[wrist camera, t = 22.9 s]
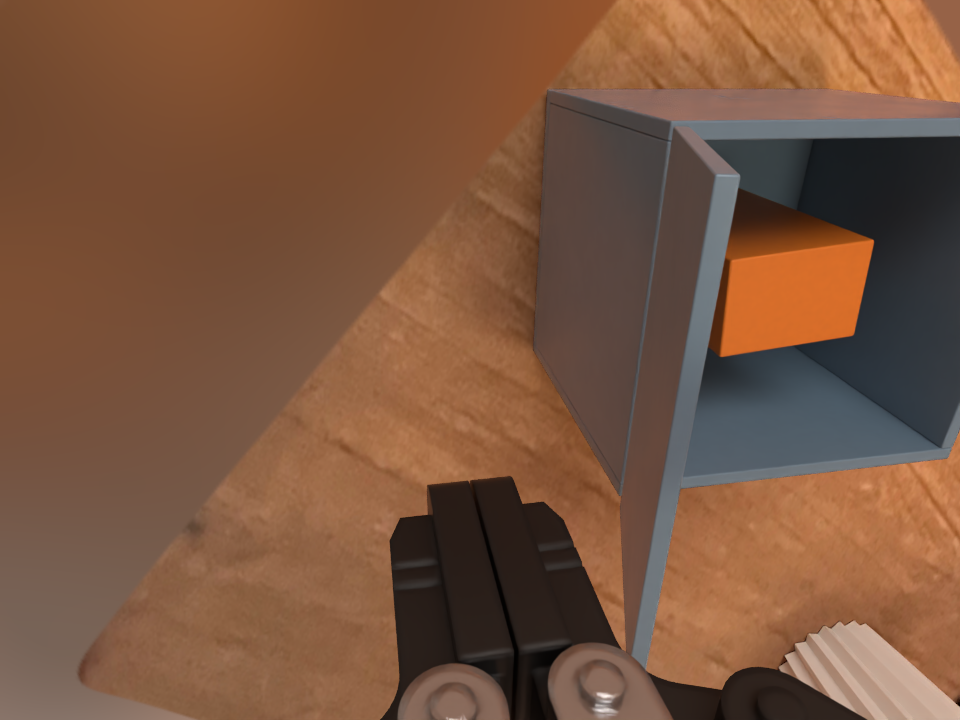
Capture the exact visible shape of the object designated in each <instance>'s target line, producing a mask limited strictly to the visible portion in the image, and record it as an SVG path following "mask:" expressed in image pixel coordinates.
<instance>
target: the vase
mask: <svg viewBox="0 0 960 720" xmlns="http://www.w3.org/2000/svg"><path fill="white" fill-rule="evenodd" d="M784 656H785V657H786V659H787V662H786V663H784V664H782V665H781V666H779V669H780V671H781V672H784V673H787V674H789V675H791V676H793V677H795V678H797V679H799V680H800V681H802V682H804V683H805V684H807V685H809V686H811V687H812V688H814V689H816V690H818V691H819V692H821V693H823V694H824V695H826V696H828V697H830V698H831V699H833V700H835V701H836V702H838V703H840V704H842V705H843V706H845V707H847V708H848V709H850V710H852V711H854V712H855V713H857V714H859V715H861V716H862V717H864V718H866V719H867V720H960V707H959V706H958V705H957V704H956V703H955V702H954V701H952V700H951V699H950V698H949V697H948V696H947V695H946V694H945V693H943V692H942V691H941V690H940V689H939V688H938V687H937V686H936V685H934V684H933V683H932V682H931V681H930V680H929V679H928V678H927V677H925V676H924V675H923V674H922V673H921V672H920V671H919V670H918V669H917V668H915V667H914V666H913V665H912V664H911V663H910V662H909V661H908V660H906V659H905V658H904V657H903V656H902V655H901V654H900V653H899V652H897V651H896V650H895V649H894V648H893V647H892V646H891V645H890V644H888V643H887V642H886V641H885V640H884V639H883V638H882V637H880V636H879V635H878V634H877V633H876V632H875V631H874V630H873V629H871V628H870V627H869V626H868V625H867V624H866V623H865V624H863V625H859V624H858V623H857V622H856V621H852V622H851V623H849V624H847V625H846V626H844V625H843V624H842V623H841V622H840V621H839V622H838V623H837V624H836V625H835V626H834V627H833V628H831V629H830V628H828V627H826V626H823V627H822V629H821V630H820V632H819V633H818V634H811V633H808V635H807V639H806V641H805V642H801V643H795V651H794V652H791V653H789V654H786V655H784Z"/></svg>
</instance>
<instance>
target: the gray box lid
mask: <svg viewBox="0 0 960 720" xmlns="http://www.w3.org/2000/svg"><path fill="white" fill-rule="evenodd" d="M739 182H740V175H739V174H738V173H737V172H736V171H735V170H734V169H733V168H732V167H731V166H730V165H729V164H728V163H727V162H726V161H724V160H723V159H722V158H721V157H720V156H719V155H718V154H717V153H716V152H715V151H714V150H713V149H712V148H711V147H710V146H709V145H708V144H707V143H706V142H705V141H704V140H702V139H701V138H700V137H699V136H698V135H697V134H696V133H695V132H694V131H693V130H692V129H691V128H690V127H681V126H675V127H674V128H673V134H672V141H671V148H670V155H669V163H668V170H667V177H666V184H665V191H664V198H663V205H662V212H661V219H660V226H659V234H658V241H657V248H656V255H655V262H654V269H653V276H652V283H651V290H650V297H649V305H648V312H647V319H646V326H645V333H644V340H643V347H642V354H641V361H640V368H639V376H638V383H637V390H636V397H635V404H634V411H633V418H632V425H631V432H630V439H629V447H628V454H627V461H626V468H625V475H624V482H623V489H622V496H621V503H620V521H621V544H622V567H623V590H624V613H625V635H626V653H628V654H630V655H631V656H632V657H634V658H635V659H636V660H637V661H638V662H639V663H640V664H641V665H642V666H643V667H644V668H645V670H646V666H647V660H648V655H649V650H650V645H651V640H652V634H653V629H654V624H655V619H656V614H657V608H658V603H659V598H660V593H661V588H662V582H663V577H664V572H665V567H666V562H667V556H668V551H669V546H670V541H671V536H672V530H673V525H674V520H675V515H676V510H677V504H678V499H679V494H680V489H681V484H682V479H683V473H684V468H685V463H686V458H687V453H688V447H689V442H690V437H691V432H692V427H693V421H694V416H695V411H696V406H697V401H698V395H699V390H700V385H701V380H702V375H703V369H704V364H705V359H706V354H707V349H708V343H709V338H710V333H711V328H712V323H713V317H714V312H715V307H716V302H717V297H718V291H719V286H720V281H721V276H722V271H723V266H724V260H725V255H726V250H727V245H728V240H729V234H730V229H731V224H732V219H733V214H734V208H735V203H736V198H737V193H738V188H739Z"/></svg>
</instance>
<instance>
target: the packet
mask: <svg viewBox="0 0 960 720" xmlns="http://www.w3.org/2000/svg"><path fill="white" fill-rule="evenodd" d="M873 245H874V240H873V239H870V238H867V237H865V236H862V235H860V234H857V233H854V232H852V231H849V230H847V229H844V228H841V227H839V226H836V225H834V224H831V223H828V222H826V221H823V220H821V219H818V218H815V217H813V216H810V215H808V214H805V213H802V212H800V211H797V210H795V209H792V208H789V207H787V206H784V205H782V204H779V203H776V202H774V201H771V200H769V199H766V198H763V197H761V196H758V195H756V194H753V193H750V192H748V191H745V190H743V189H740V188H738V193H737V198H736V203H735V208H734V214H733V219H732V224H731V229H730V234H729V240H728V245H727V250H726V255H725V260H724V266H723V271H722V276H721V281H720V286H719V291H718V297H717V302H716V307H715V312H714V317H713V323H712V328H711V333H710V338H709V343H708V347H709V348H710V349H711V350H712V351H714V352H715V353H716V354H717V355H718V356H719V357H726V356H732V355H738V354H744V353H750V352H757V351H763V350H769V349H775V348H781V347H787V346H794V345H800V344H806V343H812V342H818V341H825V340H831V339H837V338H843V337H849V336H853V335H854V332H855V327H856V323H857V318H858V314H859V309H860V305H861V300H862V296H863V291H864V286H865V282H866V277H867V273H868V268H869V264H870V259H871V255H872V250H873Z"/></svg>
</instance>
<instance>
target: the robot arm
mask: <svg viewBox="0 0 960 720" xmlns="http://www.w3.org/2000/svg"><path fill="white" fill-rule="evenodd" d="M427 506H428V515H422V516H413V517H405V518H400V520H399V522H398V524H397V526H396V528H395V530H394V533H393V535H392V537H391V539H390V552H391V566H392V580H393V594H394V608H395V621H396V634H397V647H398V661H399V674H400V676H399V685H398V690H397V693H396V696H395V699H394V701H393V702H392V704H391V706H390V708H389V709H388V711H387V712H386V713H385V715H384V716H383V717H382V718H381V719H380V720H867V719H866V718H864V717H862V716H861V715H859V714H857V713H855V712H854V711H852V710H850V709H848V708H847V707H845V706H843V705H842V704H840V703H838V702H836V701H835V700H833V699H831V698H830V697H828V696H826V695H824V694H823V693H821V692H819V691H818V690H816V689H814V688H812V687H811V686H809V685H807V684H805V683H804V682H802V681H800V680H799V679H797V678H795V677H793V676H791V675H789V674H787V673H784V672H781V671H779V670H775V669H770V668H763V667H750V668H746V669H742V670H740V671H738V672H736V673H734V674H733V675H732V676H730V677H729V679H728V680H727V681H726V682H725V685H724V687H723V689H722V690H719V689H712V688H706V687H699V686H693V685H686V684H680V683H675V682H670V681H667V680H664V679H661V678H658V677H656V676H654V675H652V674H650V673H648V672H647V671H646V670H645V668H644V667H643V666H642V665H641V664H640V663H639V662H638V661H637V660H636V659H635V658H634V657H632V656H631V655H630V654H628V653H626V652H625V651H623V650H622V649H621V647H620V646H619V644H618V642H617V641H616V639H615V636H614V634H613V632H612V630H611V627H610V625H609V623H608V620H607V618H606V616H605V614H604V611H603V609H602V607H601V605H600V602H599V600H598V598H597V595H596V593H595V591H594V589H593V586H592V584H591V582H590V579H589V577H588V575H587V573H586V570H585V568H584V567H582V561H581V559H580V557H579V554H578V552H577V550H576V547H575V548H574V544H573V541H572V538H571V536H570V534H569V531H568V529H567V527H566V525H565V522H564V520H563V519H562V518H561V517H560V516H559V515H557V514H556V513H555V512H554V511H553V510H552V509H551V508H550V507H549V506H548V505H547V504H546V503H544V502H536V503H527V504H522V502H521V499H520V496H519V494H518V491H517V488H516V485H515V483H514V480H513V478H512V477H511V476H507V477H497V478H487V479H478V480H471V481H470V484H469V482H468V481H460V482H451V483H441V484H432V485H427Z"/></svg>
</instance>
